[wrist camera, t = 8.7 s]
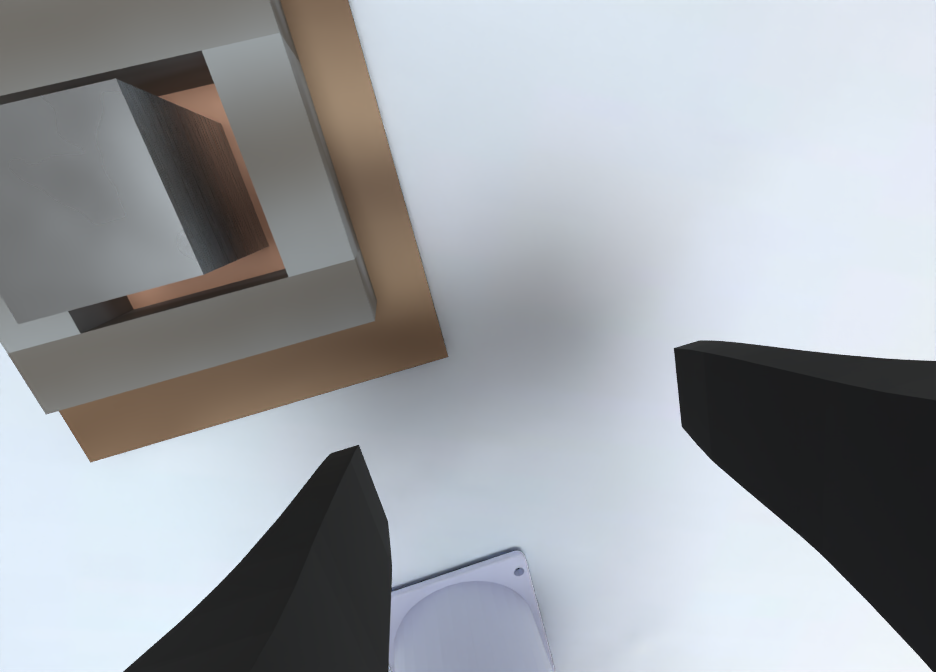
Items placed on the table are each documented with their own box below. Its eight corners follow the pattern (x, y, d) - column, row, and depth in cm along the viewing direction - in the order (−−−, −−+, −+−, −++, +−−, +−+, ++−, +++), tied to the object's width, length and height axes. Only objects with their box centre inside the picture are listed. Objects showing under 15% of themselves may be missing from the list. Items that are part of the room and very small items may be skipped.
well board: (445, 350, 19) (459, 386, 15) (103, 451, 18) (31, 515, 14) (311, -127, 14) (285, -240, 10) (-186, -29, 13) (-411, -117, 9)
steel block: (269, 246, 16) (203, 274, 10) (152, 277, 16) (18, 324, 10) (221, 123, 15) (115, 78, 9) (93, 154, 14) (-102, 128, 9)
